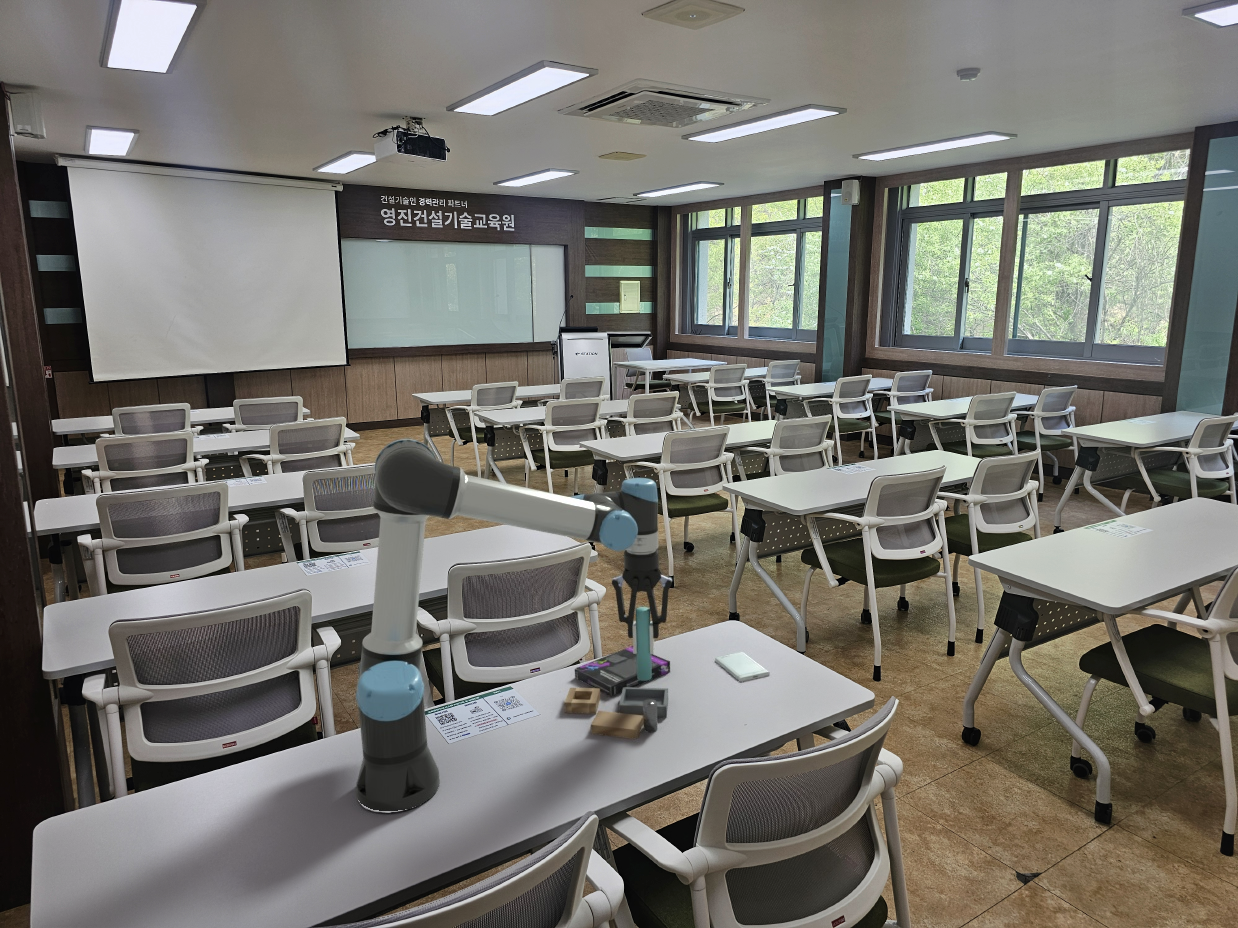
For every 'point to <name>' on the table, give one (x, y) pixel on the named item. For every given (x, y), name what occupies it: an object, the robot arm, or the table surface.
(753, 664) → the hard drive
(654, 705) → the bench dog
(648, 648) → the dowel
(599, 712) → the tan block
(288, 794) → the table surface
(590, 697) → the socket block
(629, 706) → the tray
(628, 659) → the box
